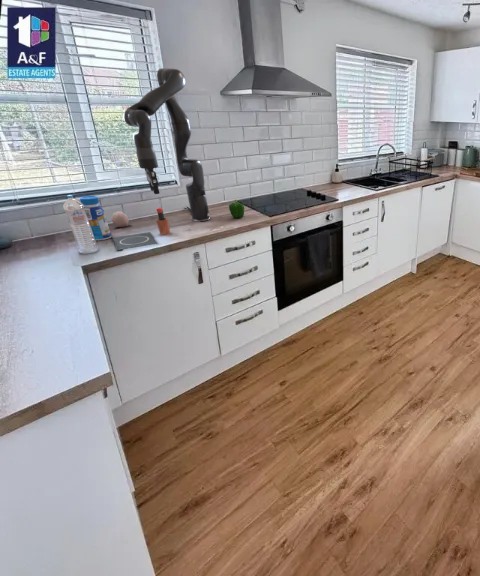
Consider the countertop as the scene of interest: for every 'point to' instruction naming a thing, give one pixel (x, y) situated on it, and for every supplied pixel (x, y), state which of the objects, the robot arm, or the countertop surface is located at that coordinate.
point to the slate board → (133, 241)
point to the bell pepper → (236, 209)
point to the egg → (119, 219)
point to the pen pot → (163, 226)
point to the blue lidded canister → (96, 217)
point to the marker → (160, 213)
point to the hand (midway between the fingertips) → (155, 192)
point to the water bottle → (80, 226)
